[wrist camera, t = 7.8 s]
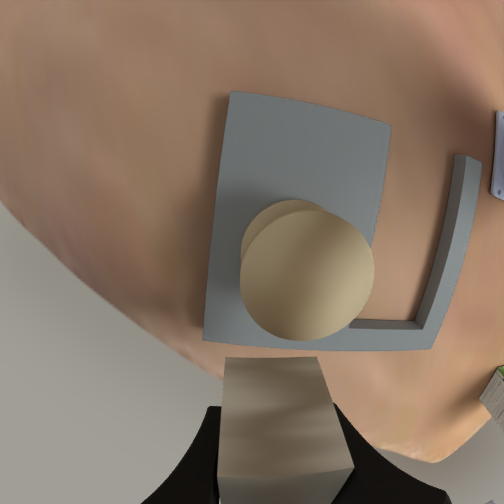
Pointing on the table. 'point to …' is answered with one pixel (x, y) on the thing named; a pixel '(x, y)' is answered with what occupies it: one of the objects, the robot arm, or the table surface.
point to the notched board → (330, 198)
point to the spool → (304, 271)
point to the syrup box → (495, 396)
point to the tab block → (279, 434)
